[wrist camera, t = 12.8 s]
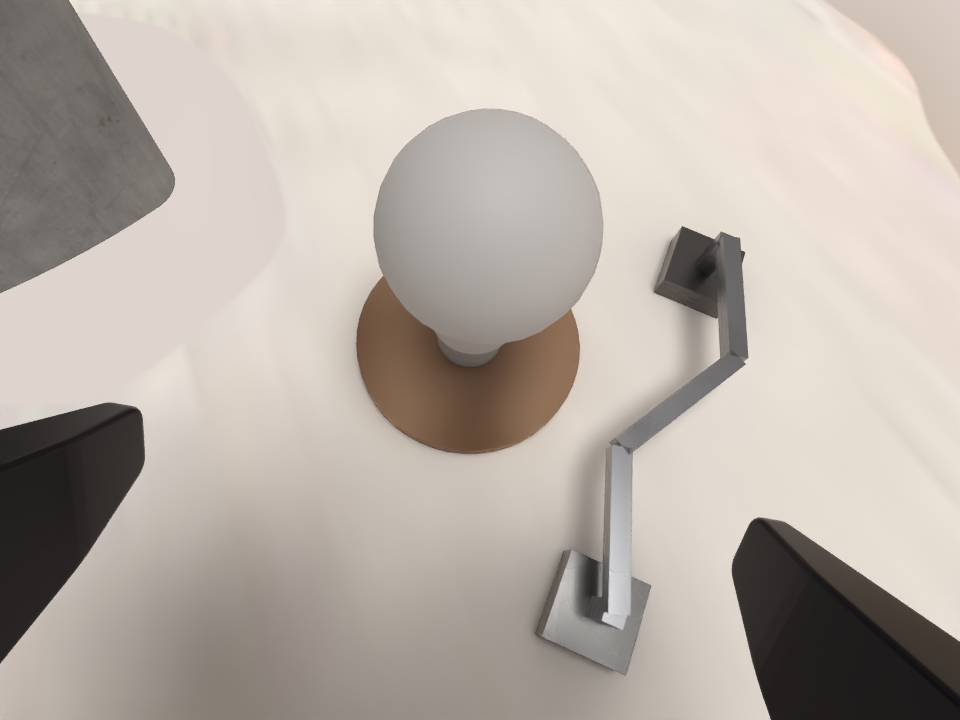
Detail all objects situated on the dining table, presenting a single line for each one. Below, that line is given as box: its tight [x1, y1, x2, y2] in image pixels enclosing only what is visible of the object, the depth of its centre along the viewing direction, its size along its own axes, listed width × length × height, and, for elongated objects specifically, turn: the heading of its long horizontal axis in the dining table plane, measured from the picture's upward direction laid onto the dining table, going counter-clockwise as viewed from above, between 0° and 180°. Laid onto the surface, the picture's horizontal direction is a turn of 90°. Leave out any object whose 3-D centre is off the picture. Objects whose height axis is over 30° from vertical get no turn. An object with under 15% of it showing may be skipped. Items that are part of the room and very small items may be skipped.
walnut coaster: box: [356, 276, 580, 454], centre depth 23 cm, size 9×9×1 cm
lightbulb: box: [374, 109, 603, 367], centre depth 18 cm, size 6×6×11 cm
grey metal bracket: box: [535, 226, 748, 675], centre depth 22 cm, size 18×4×4 cm, turn 157°
